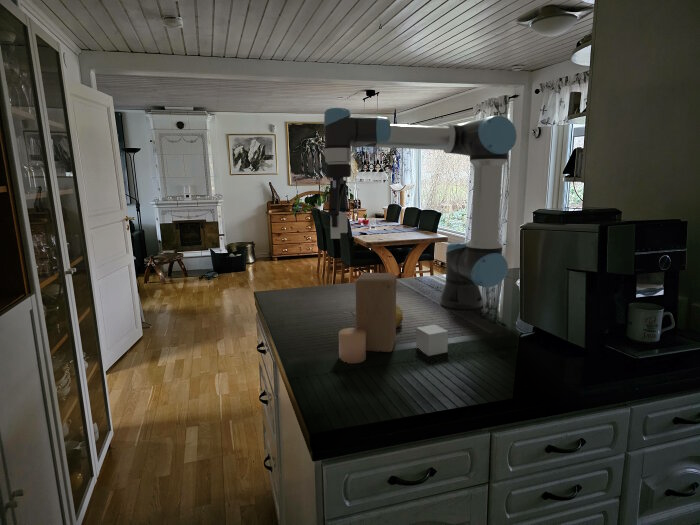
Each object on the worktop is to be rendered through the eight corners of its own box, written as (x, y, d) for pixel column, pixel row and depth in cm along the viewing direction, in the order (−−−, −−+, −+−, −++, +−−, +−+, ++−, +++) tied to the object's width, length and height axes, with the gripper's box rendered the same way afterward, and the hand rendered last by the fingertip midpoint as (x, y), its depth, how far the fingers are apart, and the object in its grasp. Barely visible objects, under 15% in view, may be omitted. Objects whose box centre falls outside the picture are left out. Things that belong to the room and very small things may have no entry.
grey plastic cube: (434, 344, 121) (434, 324, 120) (447, 352, 116) (448, 331, 115) (416, 348, 119) (416, 327, 118) (428, 356, 114) (429, 334, 112)
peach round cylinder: (363, 351, 117) (362, 327, 116) (368, 362, 110) (368, 336, 109) (337, 353, 116) (337, 328, 115) (341, 364, 109) (340, 338, 108)
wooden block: (392, 353, 115) (392, 280, 112) (355, 351, 117) (354, 279, 114) (395, 340, 125) (396, 272, 121) (361, 338, 127) (361, 271, 123)
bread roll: (379, 317, 146) (379, 294, 145) (407, 319, 143) (407, 296, 142) (368, 329, 134) (368, 304, 133) (399, 332, 131) (399, 307, 130)
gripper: (333, 165, 140) (334, 230, 144) (316, 162, 116) (318, 241, 120) (356, 164, 139) (357, 230, 143) (343, 161, 114) (345, 241, 118)
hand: (339, 235), depth 131 cm, fingers open, 13 cm apart
